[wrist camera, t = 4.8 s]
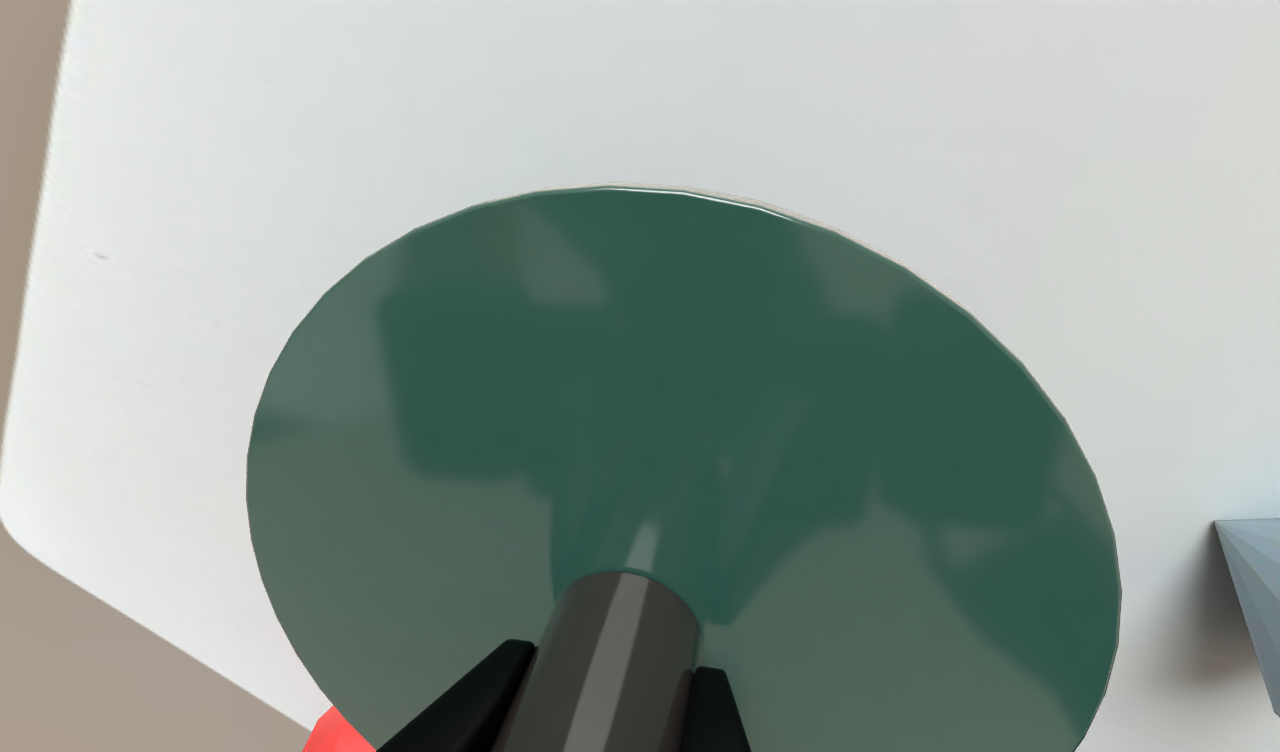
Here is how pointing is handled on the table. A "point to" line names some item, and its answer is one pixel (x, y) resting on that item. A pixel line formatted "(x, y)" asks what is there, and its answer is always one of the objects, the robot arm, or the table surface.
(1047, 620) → the lid
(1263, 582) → the gemstone
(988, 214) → the table surface
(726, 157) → the table surface
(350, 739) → the apple
